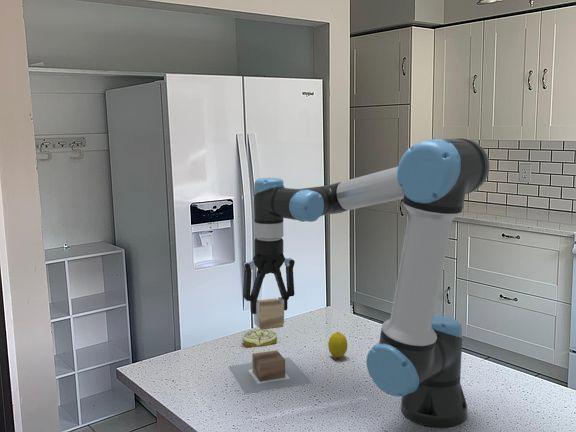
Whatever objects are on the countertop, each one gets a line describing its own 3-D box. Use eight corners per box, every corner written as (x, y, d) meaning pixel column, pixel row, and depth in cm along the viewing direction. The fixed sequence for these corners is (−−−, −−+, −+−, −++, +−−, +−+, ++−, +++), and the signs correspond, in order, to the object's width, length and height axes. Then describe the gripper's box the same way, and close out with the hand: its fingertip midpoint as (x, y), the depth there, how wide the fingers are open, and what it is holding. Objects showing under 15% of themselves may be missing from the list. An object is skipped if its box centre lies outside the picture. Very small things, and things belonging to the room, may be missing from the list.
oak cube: (283, 327, 150) (283, 305, 149) (261, 329, 148) (261, 307, 147) (276, 319, 156) (276, 298, 155) (254, 321, 154) (254, 300, 153)
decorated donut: (235, 345, 179) (235, 334, 178) (259, 335, 187) (259, 324, 186) (260, 353, 172) (260, 341, 172) (283, 343, 180) (283, 331, 180)
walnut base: (285, 377, 152) (285, 359, 151) (260, 381, 150) (259, 363, 149) (277, 367, 159) (276, 350, 158) (252, 371, 156) (252, 353, 156)
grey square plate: (312, 387, 149) (312, 382, 149) (245, 398, 143) (245, 394, 143) (289, 361, 166) (289, 357, 166) (228, 370, 160) (228, 366, 160)
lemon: (347, 354, 170) (347, 328, 169) (347, 362, 165) (347, 335, 163) (328, 354, 171) (328, 328, 169) (328, 361, 165) (328, 335, 164)
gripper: (298, 232, 155) (297, 315, 158) (229, 237, 148) (230, 323, 152) (308, 238, 148) (307, 324, 152) (236, 243, 141) (237, 332, 145)
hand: (269, 323), depth 152 cm, fingers closed on oak cube, 6 cm apart
